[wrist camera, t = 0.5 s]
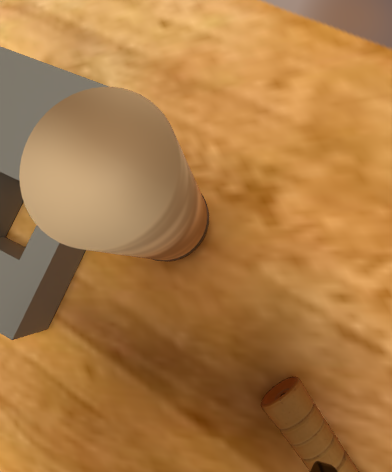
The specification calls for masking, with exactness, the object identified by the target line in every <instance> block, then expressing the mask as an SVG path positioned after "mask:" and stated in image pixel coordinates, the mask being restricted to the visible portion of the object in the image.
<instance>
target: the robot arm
mask: <svg viewBox="0 0 392 472" xmlns="http://www.w3.org/2000/svg"><path fill="white" fill-rule="evenodd" d="M310 472H338V471H337V469H336V468H335V467H334V466H333V465H331V464H328V463H324V462H321V461H316V462H314V464H313V466H312V468H311V471H310Z"/></svg>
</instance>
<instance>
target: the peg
mask: <svg viewBox="0 0 392 472" xmlns="http://www.w3.org/2000/svg"><path fill="white" fill-rule="evenodd" d="M19 179H20V189H21V194H22V198H23V201H24V204H25V207H26V209H27V211H28V213H29V215H30V216H31V218H32V219H33V221H34V222H35V224H36V225H37V226H38V227H39V228H40V229H41V230H42V231H43V232H44V233H45V234H47V235H48V236H49V237H51V238H52V239H54V240H56V241H57V242H59V243H62V244H64V245H66V246H69V247H73V248H77V249H84V250H91V251H98V252H105V253H112V254H120V255H127V256H134V257H141V258H148V259H153V260H157V261H175V260H178V259H181V258H184V257H186V256H187V255H189V254H191V253H192V252H193V251H194V250H196V248H197V247H198V246H199V245H200V244H201V242H202V241H203V239H204V237H205V235H206V232H207V229H208V225H209V212H208V207H207V204H206V201H205V199H204V197H203V195H202V194H201V192H200V190H199V188H198V185H197V183H196V181H195V179H194V176H193V174H192V172H191V170H190V167H189V165H188V163H187V161H186V158H185V156H184V154H183V152H182V150H181V147H180V145H179V143H178V141H177V138H176V136H175V134H174V132H173V129H172V127H171V125H170V123H169V121H168V120H167V118H166V117H165V115H164V114H163V113H162V112H161V111H160V109H159V108H158V107H157V106H156V105H154V104H153V103H152V102H151V101H150V100H148V99H146V98H145V97H143V96H142V95H140V94H137V93H135V92H133V91H130V90H126V89H123V88H116V87H98V88H91V89H87V90H83V91H80V92H78V93H75V94H73V95H71V96H69V97H67V98H65V99H63V100H62V101H60V102H59V103H57V104H56V105H55V106H53V107H52V108H51V109H50V110H49V111H48V112H47V113H46V114H45V115H44V116H43V117H42V118H41V119H40V120H39V122H38V123H37V124H36V126H35V127H34V129H33V131H32V132H31V134H30V136H29V138H28V140H27V142H26V145H25V147H24V150H23V154H22V158H21V163H20V173H19Z"/></svg>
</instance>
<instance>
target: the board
mask: <svg viewBox="0 0 392 472" xmlns="http://www.w3.org/2000/svg"><path fill="white" fill-rule="evenodd" d="M98 87H108V86H106V85H103V84H100V83H98V82H95V81H92V80H89V79H87V78H84V77H81V76H79V75H76V74H73V73H71V72H68V71H65V70H62V69H60V68H57V67H54V66H52V65H49V64H46V63H43V62H41V61H38V60H35V59H33V58H30V57H27V56H25V55H22V54H19V53H16V52H14V51H11V50H8V49H6V48H3V47H0V333H1V334H3V335H5V336H6V337H8V338H10V339H11V340H14V339H17V338H20V337H24V336H27V335H30V334H33V333H36V332H40V331H43V330H46V329H48V327H49V325H50V323H51V321H52V319H53V317H54V315H55V313H56V310H57V308H58V306H59V304H60V302H61V300H62V298H63V296H64V294H65V292H66V290H67V288H68V286H69V284H70V281H71V279H72V277H73V275H74V273H75V271H76V269H77V267H78V265H79V263H80V261H81V259H82V257H83V255H84V252H85V250H84V249H77V248H73V247H69V246H66V245H64V244H62V243H59V242H57V241H56V240H54V239H52V238H51V237H49V236H48V235H47V234H45V233H44V232H43V231H42V230H41V229H40V228H39V227H38V226H36V228H35V230H34V232H33V234H32V236H31V238H30V240H29V242H28V244H27V246H26V248H25V247H23V246H21V245H19V244H17V243H15V242H13V241H11V240H10V239H8V238H6V235H7V233H8V231H9V229H10V227H11V225H12V223H13V221H14V219H15V217H16V215H17V213H18V211H19V209H20V207H21V205H22V203H23V198H22V194H21V189H20V179H19V173H20V163H21V158H22V154H23V150H24V147H25V145H26V142H27V140H28V138H29V136H30V134H31V132H32V131H33V129H34V127H35V126H36V124H37V123H38V122H39V120H40V119H41V118H42V117H43V116H44V115H45V114H46V113H47V112H48V111H49V110H50V109H51V108H52V107H53V106H55V105H56V104H57V103H59V102H60V101H62V100H63V99H65V98H67V97H69V96H71V95H73V94H75V93H78V92H80V91H83V90H87V89H91V88H98Z"/></svg>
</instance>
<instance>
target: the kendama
mask: <svg viewBox="0 0 392 472" xmlns="http://www.w3.org/2000/svg"><path fill="white" fill-rule="evenodd" d="M261 407H262V409H263V410H264V411H265V412H266V414H267V415H268V416H269V417H270V419H271V420H272V421H273V423H274V424H275V425H276V426H277V427H278V428H279V429H280V431H281V433H282V434H283V436H284V437H285V438H286V439H287V441H288V442H289V443H290V444H291V446H292V447H293V449H294V450H295V451H296V453H297V454H298V456H299V457H300V458H301V459H302V461H303V462H304V464H305V465H306V466H307V468H308V469H309V471H311V468H312V466H313V464H314V462H316V461H321V462H324V463H328V464H331V465H333V466H334V467H335V468H336V469H337V471H338V472H359V471H358V470H357V468H356V467H355V465H354V463H353V462H352V460H351V459H350V457H349V456H348V454H347V453H346V451H345V450H344V449H343V447H342V445H341V444H340V442H339V441H338V439H337V437H336V436H335V435H334V433H333V432H332V430H331V428H330V427H329V425H328V424H327V422H326V421H325V419H324V418H323V416H322V414H321V413H320V411H319V410H318V408H317V407H316V405H315V404H314V403H313V400H312V399H311V397H310V395H309V394H308V392H307V390H306V389H305V387H304V385H303V384H302V382H301V381H300V379H299V378H298V377H290V378H288V379H286V380H283V381H282V382H280V383H279V384H277V385H276V386H275V387H273V388H272V389H271V390H270V391H269V392H268V393H267V394H266V395H265V397H264V398H263V400H262V402H261Z"/></svg>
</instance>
